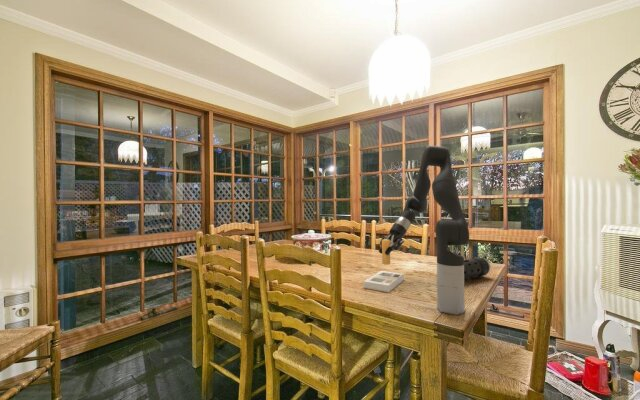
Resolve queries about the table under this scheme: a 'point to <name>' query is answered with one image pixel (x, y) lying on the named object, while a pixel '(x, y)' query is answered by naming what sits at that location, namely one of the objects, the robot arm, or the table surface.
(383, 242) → the plug
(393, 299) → the table surface
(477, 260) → the muzzle brake
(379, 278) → the socket plate
